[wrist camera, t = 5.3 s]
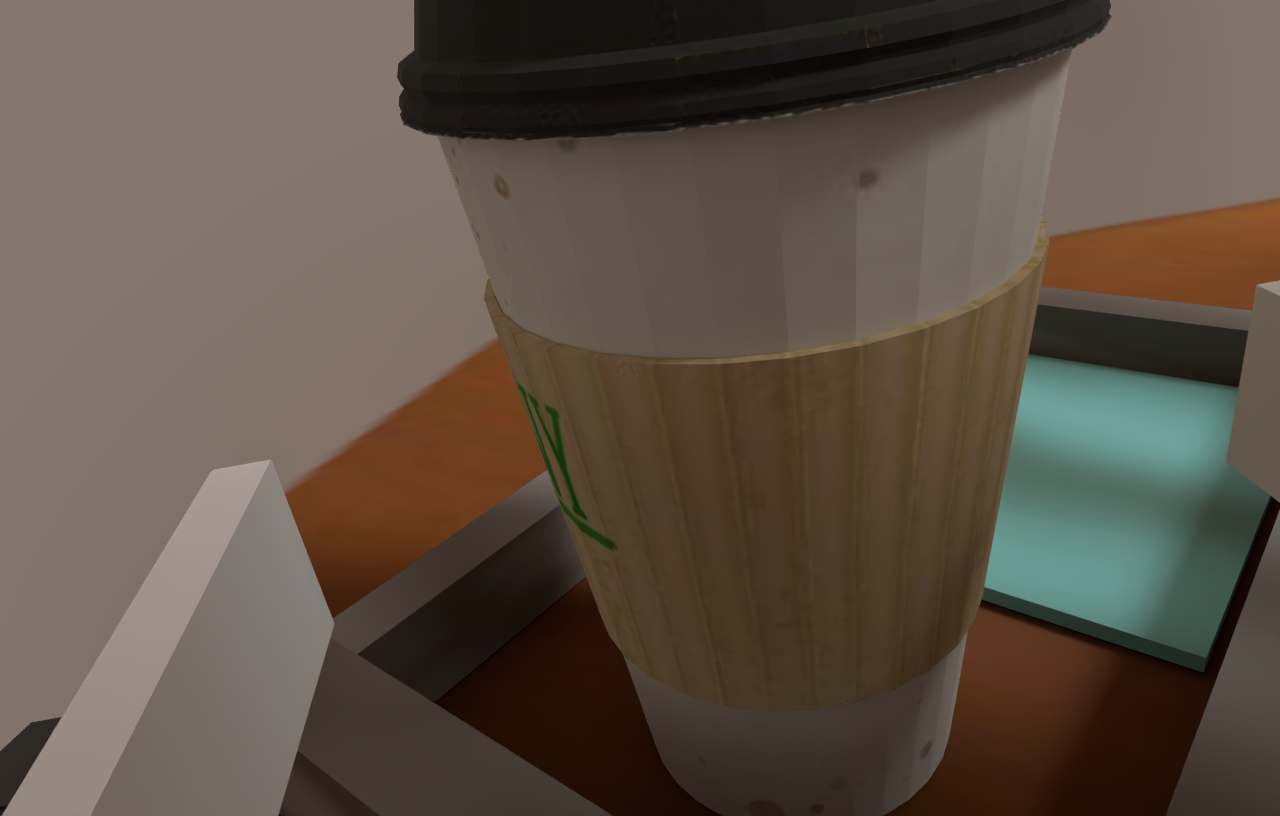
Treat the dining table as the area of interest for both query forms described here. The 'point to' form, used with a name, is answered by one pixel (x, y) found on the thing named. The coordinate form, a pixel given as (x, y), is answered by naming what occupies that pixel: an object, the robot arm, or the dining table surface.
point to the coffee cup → (766, 343)
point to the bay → (1016, 579)
